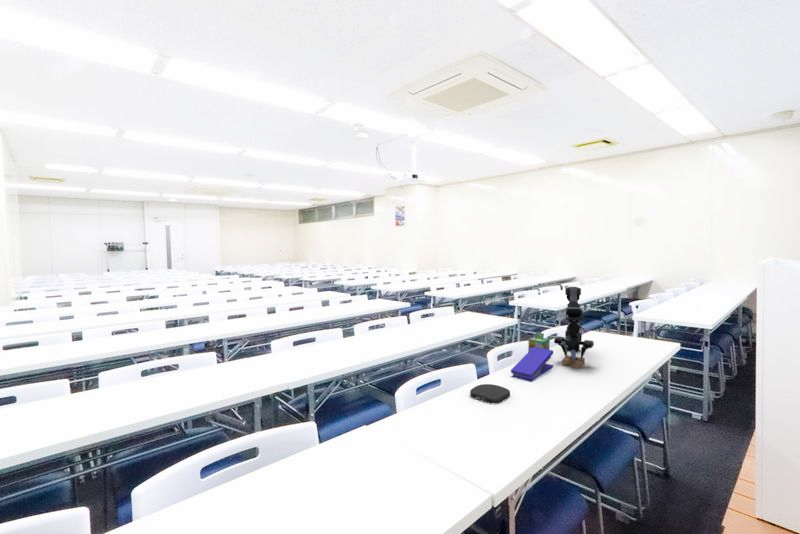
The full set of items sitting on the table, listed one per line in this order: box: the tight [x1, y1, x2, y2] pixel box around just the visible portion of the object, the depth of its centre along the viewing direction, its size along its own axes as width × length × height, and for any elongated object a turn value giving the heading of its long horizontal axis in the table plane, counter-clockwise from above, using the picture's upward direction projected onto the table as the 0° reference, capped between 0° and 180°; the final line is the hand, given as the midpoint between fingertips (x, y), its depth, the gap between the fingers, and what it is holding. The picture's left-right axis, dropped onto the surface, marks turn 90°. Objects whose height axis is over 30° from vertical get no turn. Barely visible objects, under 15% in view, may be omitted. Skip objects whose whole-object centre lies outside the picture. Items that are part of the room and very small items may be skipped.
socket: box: [561, 354, 586, 370], centre depth 209 cm, size 9×9×4 cm
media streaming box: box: [469, 383, 511, 404], centre depth 171 cm, size 15×15×3 cm
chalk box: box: [527, 332, 551, 353], centre depth 221 cm, size 9×9×15 cm
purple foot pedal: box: [510, 347, 554, 382], centre depth 200 cm, size 12×28×10 cm, turn 138°
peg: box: [570, 350, 577, 360], centre depth 209 cm, size 2×2×8 cm
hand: (573, 357), depth 209 cm, fingers open, 8 cm apart
